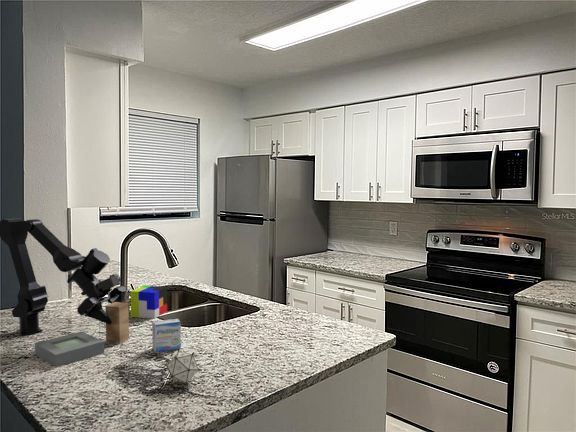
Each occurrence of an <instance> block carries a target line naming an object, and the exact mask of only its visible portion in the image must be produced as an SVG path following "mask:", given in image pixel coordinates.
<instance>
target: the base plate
mask: <svg viewBox="0 0 576 432" xmlns="http://www.w3.org/2000/svg"><path fill="white" fill-rule="evenodd" d="M104 353H105V340H102V339H100V338H97V337H95V336H93V335H91V334H88V333H86V332H84V331H82V330H81V331H78V332H73V333H70V334H65V335H62V336H57V337H53V338H50V339H46V340H41V341H38V342H35V343H34V355H35V356H36V357H38V358H40V359H41V360H43V361H45V362H47V363H48V364H49V365H52V366H53V367H55V368H58V367H61V366H64V365H68V364H71V363H74V362H78V361H81V360H84V359H87V358H88V359H89V358H91V357H94V356H98V355H101V354H104Z"/></svg>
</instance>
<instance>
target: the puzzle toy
mask: <svg viewBox="0 0 576 432" xmlns="http://www.w3.org/2000/svg"><path fill="white" fill-rule="evenodd" d="M167 312H168V286H158V285H157V286H156V285H142V286H140V287H137V288H135V289H133V290H130V317H132V318H140V319H141V318H144V319H153V320H154V319H156V318H158V317H160V316H162V315H164V314H165V313H167Z"/></svg>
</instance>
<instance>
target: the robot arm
mask: <svg viewBox="0 0 576 432" xmlns="http://www.w3.org/2000/svg"><path fill="white" fill-rule="evenodd" d="M29 234H30V235H31V236H32V237H33V238H34V240H36V241H37V242H38V243H39V244H40V245H41V246H42V247H43V248H44V249H45V251H47V252H48V253H49V255H51V256H52V260H53V261H52V262H53V263H54V265H55V266H56V267H57V269H58V270H59V271H60V272H62V273H68V272H72V271H74V272H73V273H70V274H68V275H67V280H66V282H67V284H71V283H75V284H76V285H77V286H78V287H79V288H80V290H81V291H82V292H80V294H81V295H82V296H86V297H85V299H84V300H82V302H81V303H80V304H79V305H78V306H77V308H76V309H77V310H76V311H77V314H79V316H81V317H83V316H84V317H88V318H91V319H95V320H97V321H99V322H102V323H104V324H105V325H106V324H109V325H110V324H111V323H112V321H111V320H110V318H109V317H108V315H107V314H106V313H105V310H104V309H103V303H105V302H107V303H108V304H111V303H114V302H121V303H126V302H125V296H126V294H127V293H126V292H127V289H126V287H125V286H124V285H121V281H122V277H121V276H120V275H119V274H118V273H113V274H111V275H109V277H107V278H106V279H103V278H99V279H98V278H97V277H96V276H95V275H99V274H100V273H101V272H102V271H103V269H104V268H105V267H106V266H107V265H108V264H109V263H110V261H111V259H110V256H109V255H108V254H107V253H106V252H104V251H102V250H99V249H98V248H96V247H94V248H91V249H90V251H88V253H87V255H86V256H85V255H82V254H81V252H78V251H77V250H76V249H74V248H72V247H69V246H66V245H65V244H64V243H62V241H60V239H59V238H58V237H56V235H54V233H52V231H50V230H49V228H47V226H46V225H45V224H44V223H43V222H42V220H41V219H39V218H34V219H27V220H24V219H22V218H20V217H18V218H6V219H1V220H0V239H1V240H2V242H4V243H5V244H6V245H7V246H8V249H9V252H10V255H11V260H12V262H13V263H12V264H13V266H14V269H15V274H16V276H17V280H18V284H19V290H18V295H17V301H18V303H17V305H15V306H14V308H12V310H11V314H12V317H13V318H19V319H18V321H19V323H18V324H19V329H16V330H15V332H16V333H18V335H20V336H21V337H23V336H27V335H28V336H29V335H32V334H37V333H42V332H43V329H42V328H41V327H40V319H39V317H40V315H39V313H42V312H45V308H46V306H47V304H48V300H49V299H48V298H49V294H48V292H47V287H46V286H45V285H42V286H41V285H40V284H39V283H38V282H37V278H36V275H35V272H34V268H33V265H32V261H31V258H30V255H29V254H30V253H29V251H28V247H27V244H26V241H27V238H28V235H29Z"/></svg>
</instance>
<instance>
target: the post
mask: <svg viewBox="0 0 576 432" xmlns="http://www.w3.org/2000/svg"><path fill="white" fill-rule="evenodd" d="M129 308H130V307H129V302H125V303H121V302H114V303H108V304H107V305H105V310H104V311H105V313H106V314H107V315H108V317H109V318H110V320H111V321H112V323H111V324H110V325H109V324H106V323H105V344H115V345H121V344H123V343H124V342H126V341H128V340H129V339H130V320H129V319H130V316H129V315H130V313H129V310H130V309H129Z"/></svg>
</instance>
